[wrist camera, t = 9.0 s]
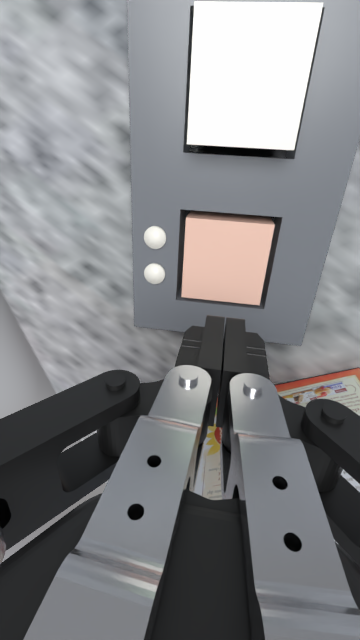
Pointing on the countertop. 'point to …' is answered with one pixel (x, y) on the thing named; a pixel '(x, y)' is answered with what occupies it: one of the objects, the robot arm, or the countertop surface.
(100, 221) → the countertop surface
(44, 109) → the countertop surface
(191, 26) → the keypad
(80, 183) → the countertop surface
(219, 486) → the cracker box
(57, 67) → the countertop surface
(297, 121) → the cream key
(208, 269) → the rose key
